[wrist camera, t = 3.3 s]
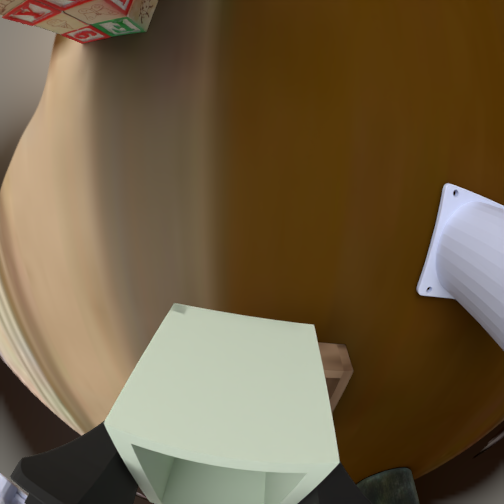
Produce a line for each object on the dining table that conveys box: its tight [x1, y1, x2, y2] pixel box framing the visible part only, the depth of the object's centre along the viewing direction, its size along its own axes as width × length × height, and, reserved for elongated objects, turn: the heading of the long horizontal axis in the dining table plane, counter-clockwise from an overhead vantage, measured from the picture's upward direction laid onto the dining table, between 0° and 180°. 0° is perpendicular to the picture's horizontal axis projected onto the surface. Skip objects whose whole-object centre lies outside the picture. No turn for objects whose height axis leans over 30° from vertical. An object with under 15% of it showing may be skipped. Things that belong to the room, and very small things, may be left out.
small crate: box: [104, 303, 340, 504], centre depth 9 cm, size 6×8×6 cm
